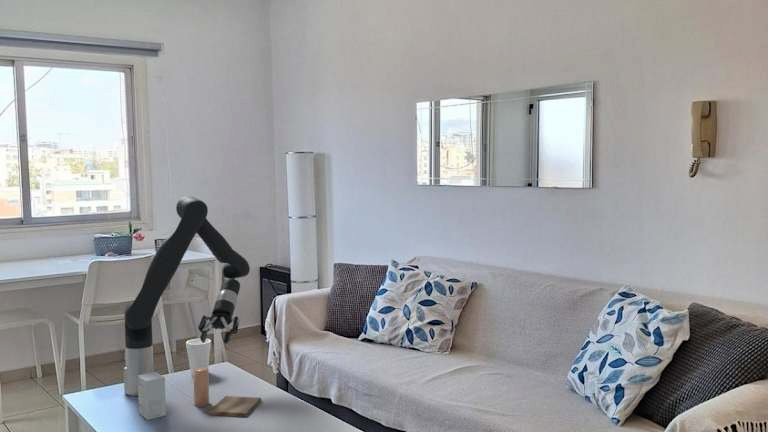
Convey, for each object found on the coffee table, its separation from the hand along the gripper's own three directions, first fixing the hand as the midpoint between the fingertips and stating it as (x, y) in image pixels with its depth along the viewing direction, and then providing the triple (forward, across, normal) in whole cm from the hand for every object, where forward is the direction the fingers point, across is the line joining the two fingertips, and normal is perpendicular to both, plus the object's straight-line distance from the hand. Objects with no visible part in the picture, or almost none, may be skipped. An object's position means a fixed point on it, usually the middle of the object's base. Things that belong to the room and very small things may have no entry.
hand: (213, 342), depth 242 cm
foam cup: (-1, -15, +28) cm, 32 cm away
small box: (+30, -12, -3) cm, 32 cm away
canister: (+21, 0, +5) cm, 22 cm away
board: (+23, +13, +4) cm, 26 cm away
